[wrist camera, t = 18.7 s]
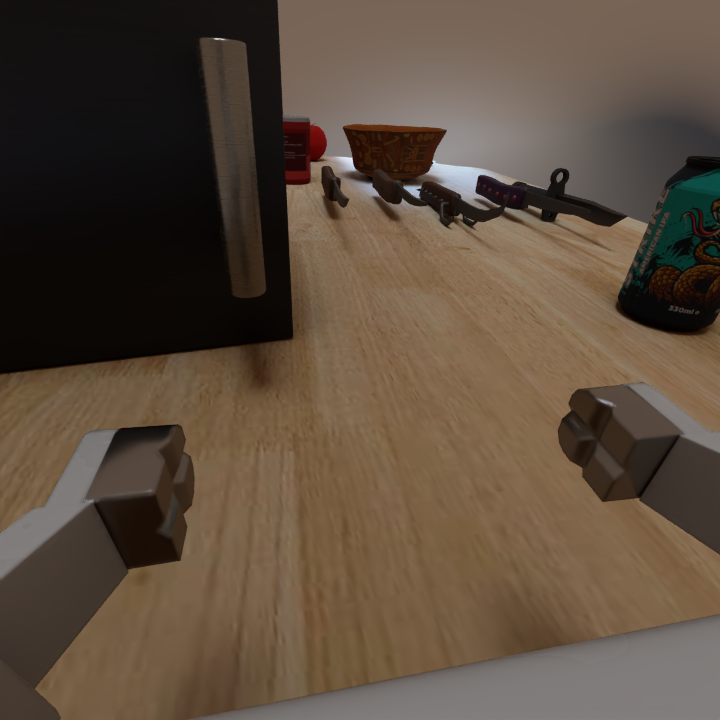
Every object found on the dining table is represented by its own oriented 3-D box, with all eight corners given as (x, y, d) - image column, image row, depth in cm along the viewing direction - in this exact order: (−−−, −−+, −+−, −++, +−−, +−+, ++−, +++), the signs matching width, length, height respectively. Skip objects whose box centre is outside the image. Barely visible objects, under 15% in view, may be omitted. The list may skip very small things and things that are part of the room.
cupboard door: (312, 386, 24) (300, -202, 12) (-132, 454, 18) (-983, -550, 6) (290, 330, 29) (268, -112, 18) (-55, 369, 23) (-435, -254, 12)
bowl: (323, 178, 84) (323, 123, 79) (370, 168, 100) (372, 121, 95) (416, 192, 76) (423, 132, 71) (451, 178, 92) (459, 128, 87)
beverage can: (697, 344, 31) (797, 171, 24) (601, 311, 35) (665, 156, 28) (717, 319, 35) (808, 165, 28) (630, 292, 39) (691, 153, 33)
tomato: (331, 159, 111) (332, 124, 106) (314, 163, 102) (314, 125, 98) (301, 156, 113) (300, 121, 109) (282, 160, 105) (280, 122, 101)
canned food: (291, 176, 85) (289, 115, 79) (319, 182, 81) (318, 117, 75) (262, 179, 80) (257, 114, 74) (290, 186, 76) (287, 117, 70)
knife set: (339, 247, 42) (342, 165, 39) (320, 197, 71) (321, 147, 67) (635, 255, 48) (664, 184, 44) (508, 206, 76) (519, 160, 72)
